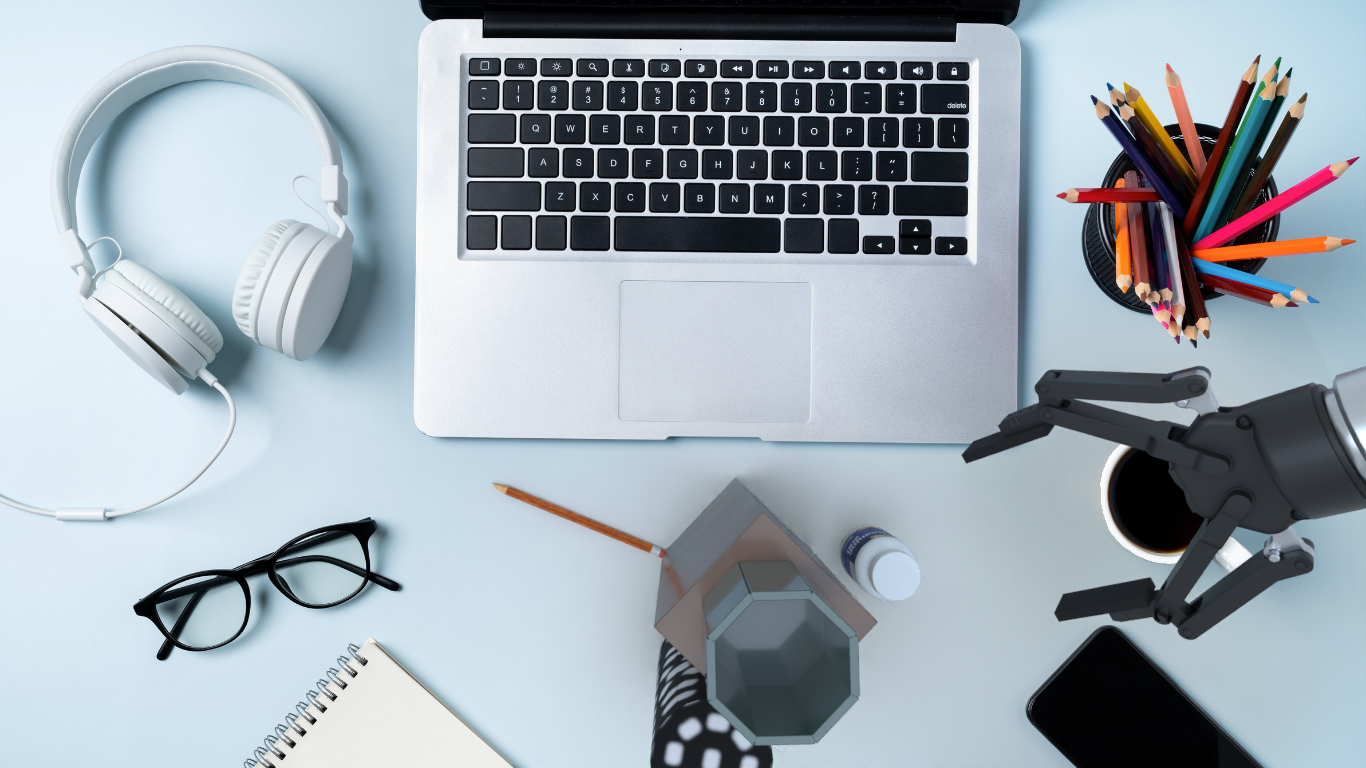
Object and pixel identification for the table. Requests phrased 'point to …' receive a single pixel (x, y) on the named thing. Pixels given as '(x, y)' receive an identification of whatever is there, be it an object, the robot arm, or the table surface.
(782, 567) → the cup
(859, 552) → the pill bottle
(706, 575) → the stand
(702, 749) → the white-spotted black cylinder
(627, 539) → the pencil
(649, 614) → the table surface
